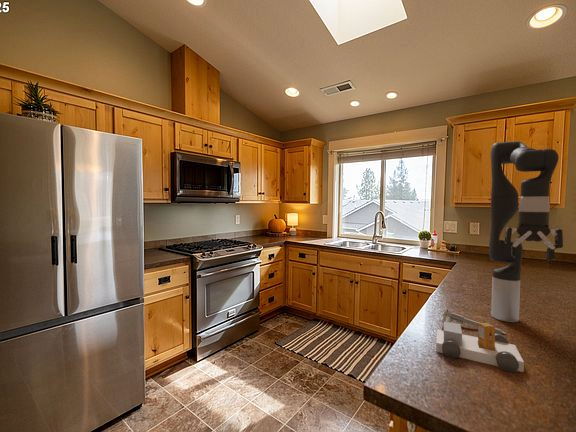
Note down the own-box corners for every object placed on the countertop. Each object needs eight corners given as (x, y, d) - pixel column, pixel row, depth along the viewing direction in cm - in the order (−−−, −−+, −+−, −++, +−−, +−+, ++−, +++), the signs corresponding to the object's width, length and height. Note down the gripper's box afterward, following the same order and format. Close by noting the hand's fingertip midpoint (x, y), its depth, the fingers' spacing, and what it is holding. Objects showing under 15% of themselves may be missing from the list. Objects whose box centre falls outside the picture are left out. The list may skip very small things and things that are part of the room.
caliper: (442, 323, 110) (443, 308, 110) (442, 322, 111) (443, 307, 111) (506, 335, 101) (506, 318, 100) (505, 334, 101) (506, 317, 101)
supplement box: (487, 352, 88) (488, 322, 88) (495, 358, 85) (496, 327, 85) (476, 352, 88) (477, 322, 88) (484, 358, 85) (485, 326, 85)
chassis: (436, 335, 100) (437, 316, 100) (512, 351, 89) (513, 330, 89) (436, 354, 87) (436, 333, 87) (525, 376, 76) (526, 351, 76)
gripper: (558, 210, 89) (556, 259, 90) (504, 210, 96) (502, 255, 97) (567, 211, 83) (565, 263, 83) (508, 210, 90) (507, 259, 90)
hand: (531, 259), depth 90 cm, fingers open, 8 cm apart
